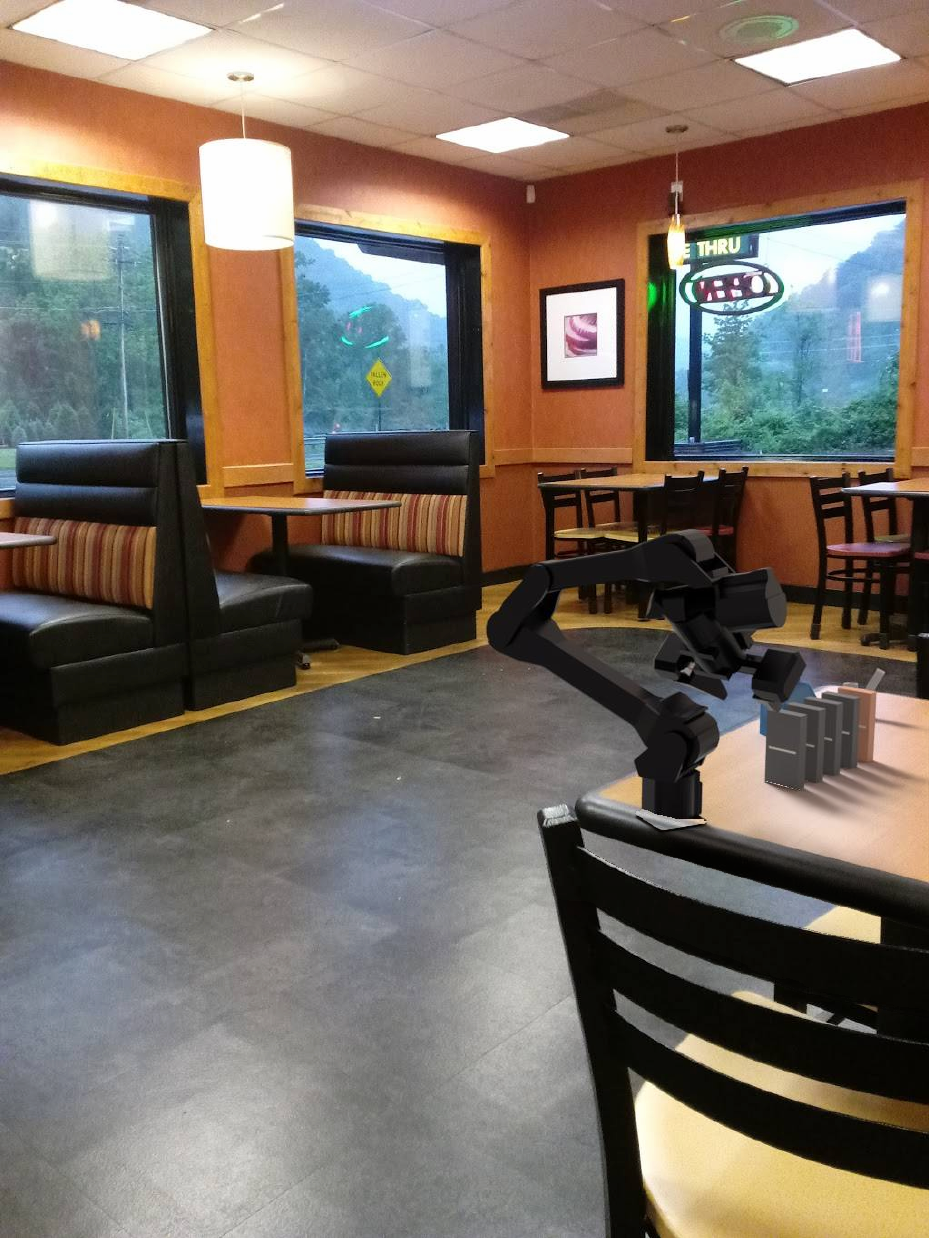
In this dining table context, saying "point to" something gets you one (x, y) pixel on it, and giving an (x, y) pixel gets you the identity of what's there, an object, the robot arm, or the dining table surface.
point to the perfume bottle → (797, 696)
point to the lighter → (871, 684)
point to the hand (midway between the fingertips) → (751, 703)
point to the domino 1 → (786, 748)
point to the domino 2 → (812, 739)
